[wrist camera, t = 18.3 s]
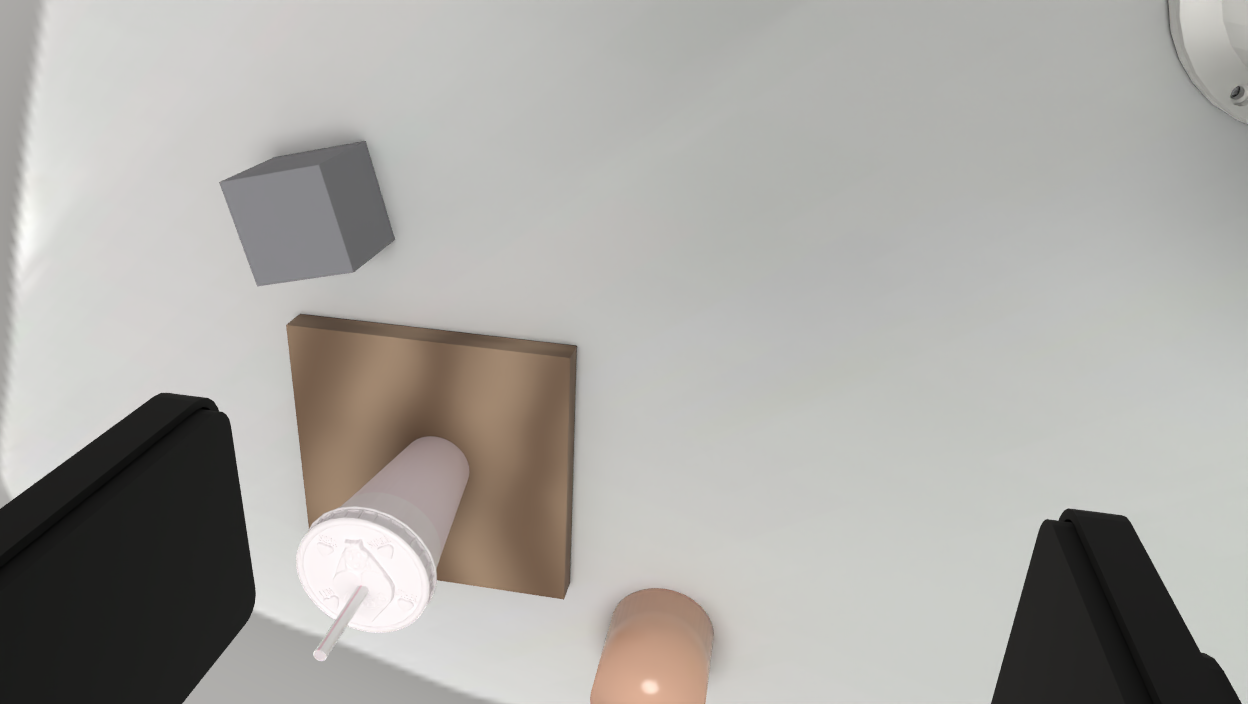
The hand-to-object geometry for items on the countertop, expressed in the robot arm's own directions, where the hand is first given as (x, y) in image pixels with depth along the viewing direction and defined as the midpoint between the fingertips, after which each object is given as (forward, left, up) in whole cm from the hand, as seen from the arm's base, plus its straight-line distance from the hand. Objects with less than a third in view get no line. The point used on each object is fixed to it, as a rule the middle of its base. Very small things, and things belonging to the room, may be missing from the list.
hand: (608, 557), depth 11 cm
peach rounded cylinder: (+2, +31, -34) cm, 46 cm away
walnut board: (+15, +21, -34) cm, 43 cm away
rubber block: (+20, +7, -34) cm, 40 cm away
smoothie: (+15, +21, -33) cm, 42 cm away
